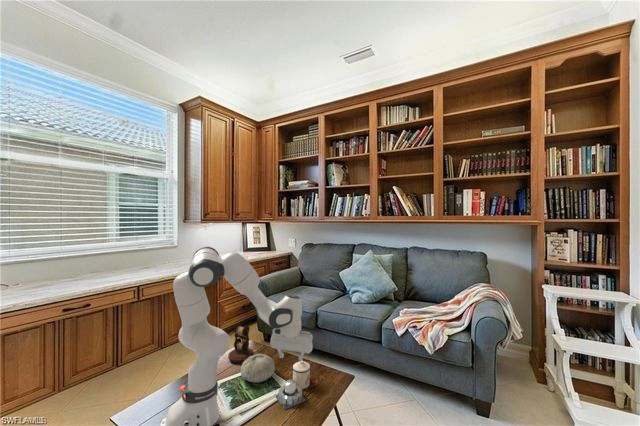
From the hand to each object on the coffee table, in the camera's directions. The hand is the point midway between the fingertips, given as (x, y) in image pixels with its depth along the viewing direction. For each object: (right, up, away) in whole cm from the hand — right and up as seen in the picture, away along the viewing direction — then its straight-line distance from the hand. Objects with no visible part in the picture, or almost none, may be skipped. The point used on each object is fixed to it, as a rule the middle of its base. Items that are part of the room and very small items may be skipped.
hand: (290, 359), depth 125 cm
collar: (0, -18, 0) cm, 18 cm away
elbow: (0, -18, 0) cm, 18 cm away
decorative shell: (-20, -19, +16) cm, 31 cm away
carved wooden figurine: (-34, -18, +34) cm, 51 cm away
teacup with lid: (+4, -19, +12) cm, 23 cm away
